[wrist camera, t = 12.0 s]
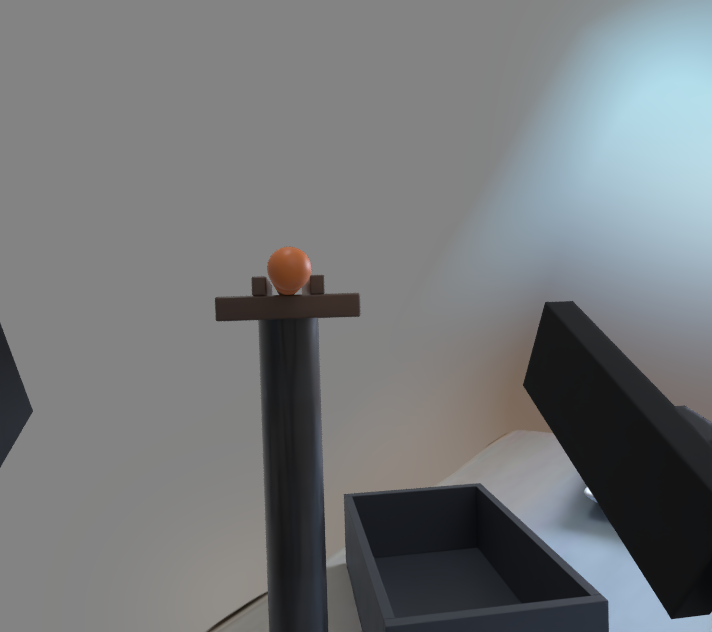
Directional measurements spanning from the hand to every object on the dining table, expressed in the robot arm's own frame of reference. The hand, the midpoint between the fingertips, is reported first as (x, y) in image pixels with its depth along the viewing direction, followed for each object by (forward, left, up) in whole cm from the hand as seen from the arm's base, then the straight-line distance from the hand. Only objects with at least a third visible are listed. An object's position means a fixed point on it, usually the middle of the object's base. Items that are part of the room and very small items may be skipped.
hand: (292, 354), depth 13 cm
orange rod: (-7, +8, +2) cm, 11 cm away
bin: (-10, +33, -27) cm, 44 cm away
